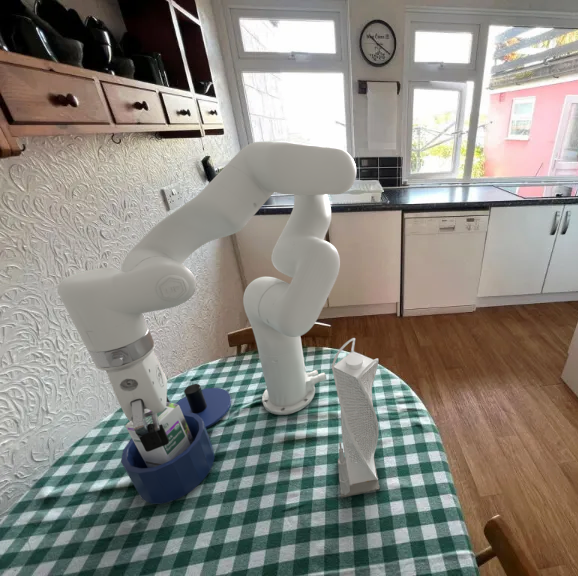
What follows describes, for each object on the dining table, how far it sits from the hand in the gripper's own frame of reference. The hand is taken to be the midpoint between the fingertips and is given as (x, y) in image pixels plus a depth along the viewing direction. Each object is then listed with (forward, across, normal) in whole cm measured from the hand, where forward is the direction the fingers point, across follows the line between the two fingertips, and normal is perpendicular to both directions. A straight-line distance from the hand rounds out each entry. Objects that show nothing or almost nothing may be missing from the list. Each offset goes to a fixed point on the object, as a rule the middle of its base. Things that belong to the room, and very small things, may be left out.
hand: (159, 426), depth 56 cm
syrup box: (+12, 0, 0) cm, 12 cm away
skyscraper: (+12, -19, -30) cm, 37 cm away
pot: (+12, 0, 0) cm, 12 cm away
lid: (+11, +14, -4) cm, 19 cm away
